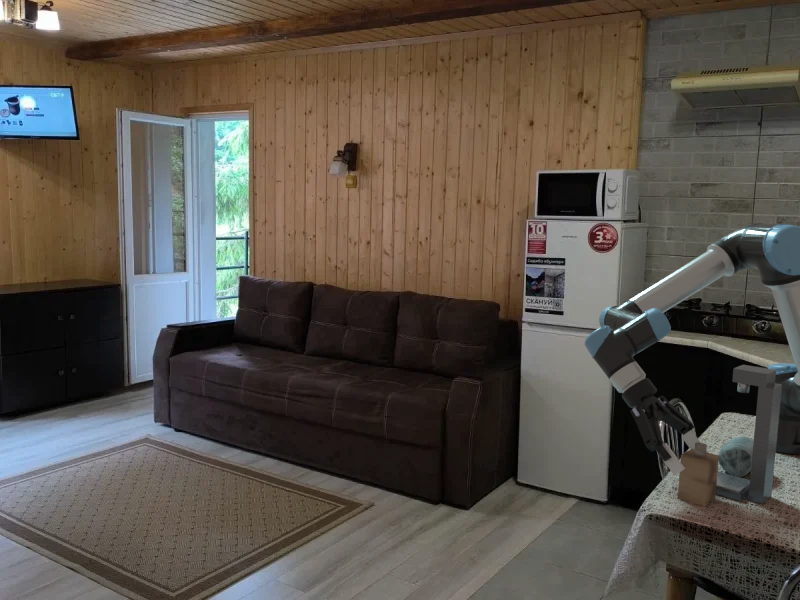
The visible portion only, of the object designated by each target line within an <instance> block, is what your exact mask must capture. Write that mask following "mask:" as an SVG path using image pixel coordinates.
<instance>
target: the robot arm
mask: <svg viewBox="0 0 800 600" xmlns="http://www.w3.org/2000/svg"><path fill="white" fill-rule="evenodd" d="M745 270H757V272H758V274H759V278H760V281H761V283H762V285H763V286H764V287H767V288H768V289H771V292H772V296H773V298H774V301H775V302H774V303H775V305H776V307H777V310H778V315H779V317H780V320H781V324H782V326H783V330H784V332H785V336H786V339H787V343H788V346H789V349H790V352H791V354H792V358H793V361H794V363H789V362H783V363H780V362H778V363H772V364H770V365H769V366H768V367H767V369H773V370H776V376H775V383H777V384H782V391H781V402H780V412H779V422H778V433H777V443H776V453H781V454H789V455H800V226H799V225H795V224H789V223H780V224H779V223H777V224H776V223H757V222H756V223H751V224H746V225H743V226H741V227H739V228H736V229H735V230H733V231H731V232H729V233H728V234H727V233H726V235H724V236H722V237H721V238H719V239H717V240H716V241H714V242H713V243H711V244H709V245H708V246H707V248H706V251H705V252H704V253H702V254H701V255H699V256H697V257H696V258H694V259H693V260H691V261H689V262H687V263H686V264H685V265H683V266H681V267H680V268H678V269H676V270H675V271H674V272H672V273H670V274H669V275H667V276H665V277H663V278H661V280H659V281H658V282H656V283H654V284H652V285H651V286H649V287H648V288H646V289H644V290H643V291H641V292H640V293H637V295H635V296H633V297H632V298H630V299H628V300H626V301H625V302H623V303H621V304H620V305H610V306H607V307H605V308H604V309H603V310H602V311H601V312H600V315H599V319H598V322H599V326H600V327H598V328H597V329H595V330H594V331H592V332H591V333H590V334H589V335H588V336H586V338H585V340H584V345H585V348H586V349H587V351H588V352H589V354H590V355H591V358H592V360H594V361H595V362H596V364H597V365H598V366H599V367H600V369H601V371H603V372H604V374H605V376H606V377H607V378H608V380H609V381H610V382H611V383H612V384H611V385H612V387H614V389H616V391H617V392H618V393H620V394H621V398H622V400H623V401H624V403H626V405H627V406H628V407H629V408H630V409H631V408H632V409H631V410H630V411H629V413H630V414H631V415H632V417H633V419H634V421H635V423H636V426H637V428H638V431H639V433H640V435H641V438H642V440H643V441H642V442H643V443H644V445H645V447H646V448H647V449H648V450H649V451H650V452H654V451H656V453H658V455H659V457H660V458H661V459H662V461H663V462H664V463H665V465H666V466H667V468H668V469H669V470H670V472H671V473H672V474H673V476H676V475H679V474H680V472H681V471H683V470H684V469H685V468H684V466H683V465H682V464H681V460H680V459H679V458H678V457H677V455H676V454H675V453H674V451H673V450H672V449H671V448H670V446H669V444H668V443H667V442H665V443H664V441H663V437H662V433H661V430H660V425H659V422H663V423H665V424H666V425H668V426H670V427H671V428H672V429H674V430H675V431H676V432H678V433H679V434H681V435H682V436H681V438H682V440H683V441H684V443H685V444H686V445H687V446H688V448H689V450H691V449H695V443H702V442H701V441H700V439H699V438H698V437H697V435H696V434H695V433H694V431H693V429H695V425H694V424H693V422H692V421H691V420H690V419H688V418H687V417H686V416H685V415H684V414H683V413H681V412H680V410H679V409H677V408H676V407H675V406H674V405H673V404H671V403H670V402H669V401H668V400H667V398H666V397H665V396H664V395H661V396H659V397H658V398H657V397H656V396H655V394H656V393H657V391H658V389H657V387H656V386H655V385H654V383H653V382H652V380H650V378H648V377H646V375H647V374H646V373H645V371H644V370H643V368H642V367H641V366H640V365H639V364H638V362H637V361H636V360H635V358H634V356H637V354H639V353H641V352H642V351H644V350H646V349H647V348H649V347H651V346H653V345H654V344H656V343H658V342H661V340H662V339H664V338H666V337H667V336H668V335H669V334H670V333H671V329H672V327H671V323H670V322H669V321H670V320H669V319H668V318H667V316H666V315H665V313H666V312H667V311H668V310H670V309H672V308H673V307H676V306H677V305H678V304H680V303H682V302H683V301H685V300H686V299H688V298H690V297H691V296H693V295H694V294H696V293H698V292H700V291H701V290H703V289H705V288H706V287H707V286H709V285H711V284H712V283H714V282H716V281H717V280H719V279H720V278H722V277H731V276H733V275H735V274H737V273H738V272H740V271H741V272H742V271H745ZM708 451H709V450H707V449H706V452H707V453H709V452H708Z"/></svg>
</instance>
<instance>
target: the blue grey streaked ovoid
mask: <svg viewBox="0 0 800 600" xmlns="http://www.w3.org/2000/svg"><path fill="white" fill-rule="evenodd" d="M753 443H754V439H752V438H750V437H747V436H735V437H733V438H731V439H729V440H728V441H727V442H726V443H724V444H723V446H722V447H721V448H720V450H719V452H718V453H717V455H719V461H718V465H719V466H720V467H721V468H722V469H723V470H724V471H725V473H726V474H729V475H733V476H736V477H740V478H743V477H745V476H747V475H748V474H749V473H751V464H752V454H753Z"/></svg>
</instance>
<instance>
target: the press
mask: <svg viewBox="0 0 800 600" xmlns="http://www.w3.org/2000/svg"><path fill="white" fill-rule="evenodd" d="M775 376H776V370H773V369H768V367H767V368H766V367H760V366H753V365H747V364H742V365H739V366H736V367H734V368H733V371H732V382H733V383H737V390H736V391H737V392H738V393H742V394H749V393H750V388H751V387H750V386H755V387H758V389H757V401H756V412H755V422H754V435H753V440H754V443H753V454H752V464H751V471H750V478H749V479H747V478H743V477H736V476H733V475H730V474H729V473H726V472H721V471H718V473H717V485H716V496H719V497H720V496H721V497H724V498H727V499H731V500H734V501H738V502H741V501H743V500H744V499H745V498H746V497H748V500H747V501H749V502H753V503H757V504H760V505H764V504H765V503H766V502H767V501H769V499H771V498H772V493H773V486H774V485H773V482H774V473H775V463H776V453H777V452H776V443H777V433H778V422H779V412H780V402H781V391H782V384H777V383H775Z"/></svg>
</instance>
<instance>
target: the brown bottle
mask: <svg viewBox="0 0 800 600" xmlns="http://www.w3.org/2000/svg"><path fill="white" fill-rule="evenodd" d="M707 446H708V445H707V444H706V443H705V442H704V443H703V442H701V443H695V449H689V450H687V451H685V452H683V453H682V454H680V462H681V464H682V465H683V466H684V468H685V469H684V470H683V471H681V472H679V474H678V475H679V477H678V478H679V479H678V488H677V489H678V490H677V499H679V500H684V501H686V502H690V503H692V504H696V505H700V506H703V507H706V506H708V505H709V504H710V503H711V502H713V501H714V500H716V497H717V494H716V485H717V473H718V472H719V471H718V469H719V455H718V454H713V453H710V452H708V453H707V452H706V450H707Z"/></svg>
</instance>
